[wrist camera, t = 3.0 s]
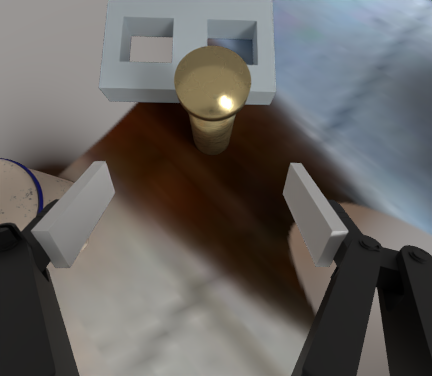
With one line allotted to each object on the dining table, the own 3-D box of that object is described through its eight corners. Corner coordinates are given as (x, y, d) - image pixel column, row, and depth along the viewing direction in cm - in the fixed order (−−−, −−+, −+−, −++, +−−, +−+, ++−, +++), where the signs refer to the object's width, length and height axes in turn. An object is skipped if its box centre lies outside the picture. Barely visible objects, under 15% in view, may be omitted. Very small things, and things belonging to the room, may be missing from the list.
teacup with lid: (3, 227, 27) (-153, 229, 15) (48, 165, 28) (-63, 124, 17) (84, 277, 26) (-14, 319, 15) (127, 211, 27) (67, 202, 16)
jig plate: (266, 18, 33) (272, -3, 30) (269, 104, 30) (276, 91, 27) (118, 13, 32) (108, -8, 29) (109, 101, 30) (98, 87, 27)
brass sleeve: (234, 116, 30) (250, 46, 18) (234, 160, 29) (251, 116, 17) (189, 115, 30) (175, 44, 18) (188, 159, 29) (172, 114, 17)
